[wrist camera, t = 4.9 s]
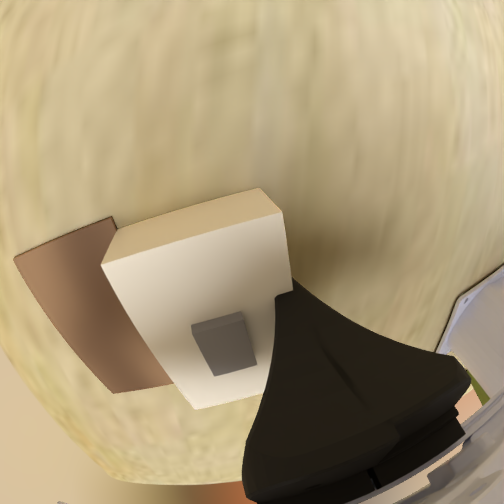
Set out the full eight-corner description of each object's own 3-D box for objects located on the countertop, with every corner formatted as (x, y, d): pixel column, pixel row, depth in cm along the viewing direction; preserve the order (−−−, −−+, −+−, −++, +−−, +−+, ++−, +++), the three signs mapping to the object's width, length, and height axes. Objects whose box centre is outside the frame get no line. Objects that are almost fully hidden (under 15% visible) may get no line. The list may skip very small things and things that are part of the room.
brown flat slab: (111, 216, 8) (110, 218, 8) (194, 376, 13) (195, 378, 13) (14, 257, 8) (12, 259, 8) (113, 391, 12) (112, 393, 12)
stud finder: (258, 187, 9) (287, 217, 7) (286, 343, 13) (305, 386, 11) (117, 228, 9) (97, 272, 6) (190, 369, 13) (196, 417, 10)
